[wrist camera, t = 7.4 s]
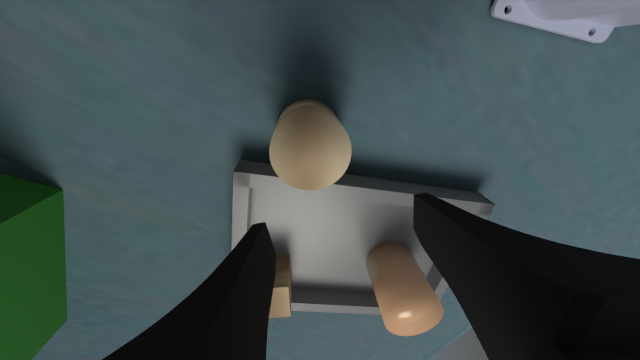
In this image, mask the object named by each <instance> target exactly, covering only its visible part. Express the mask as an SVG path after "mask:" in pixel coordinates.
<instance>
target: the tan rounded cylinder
mask: <svg viewBox="0 0 640 360" xmlns="http://www.w3.org/2000/svg"><path fill="white" fill-rule="evenodd" d="M366 267H367V270H368V274H369V277H370V280H371V283H372V286H373V289H374V293H375V296H376V299H377V302H378V305H379V308H380V312H381V315H382V318H383V321H384V324H385V327H386V328H387V330H388V331H390V332H391V333H393V334H396V335H400V336H413V335H418V334H421V333H424V332H426V331H428V330H430V329H432V328H433V327H434V326H436V325H437V324H438V323H439V322H440V320H441V319H442V317H443V313H444V309H443V306H442V304H441V302H440V301H439V299H438V297H437V296H436V294H435V292H434V290H433V289H432V287H431V285H430V284H429V282H428V280H427V278H426V277H425V275H424V273H423V272H422V270H421V268H420V266H419V265H418V263H417V261H416V259H415V258H414V256H413V254H412V253H411V251H410V249H409V248H408V247H407V246H406V245H404V244H402V243H399V242H386V243H383V244H380V245H378V246H377V247H375V248H374V249H372V250H371V251H370V253H369V254H368V256H367V258H366Z"/></svg>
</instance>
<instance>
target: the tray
mask: <svg viewBox="0 0 640 360" xmlns="http://www.w3.org/2000/svg"><path fill="white" fill-rule="evenodd" d="M421 193H429V194H431V195H433V196H436V197H438V198H440V199H442V200H444V201H446V202H448V203H450V204H452V205H454V206H457V207H459V208H461V209H463V210H465V211H467V212H470V213H472V214H474V215H476V216H479V217H481V218H484V219H486V220H487V218H488V216H489V215H490V213H491V211H492V209H493V208H494V206H495V204H494V203H492V202H491V201H490V200H488V199H487V198H485V197H484V196H483V195H481V194H480V193H479V192H477V191H470V190H462V189H455V188H447V187H440V186H433V185H425V184H418V183H410V182H403V181H395V180H388V179H380V178H373V177H366V176H358V175H351V174H343V175H342V177H341V178H340V179H339V180H337V181H336V182H335V183H333V184H332V185H330V186H328V187H325V188H322V189H318V190H302V189H298V188H295V187H292V186H290V185H288V184H287V183H285V182H284V181H283V180H282V179H281V178H280V177H279V176H278V175H277V174H276V172H275V171H274V169H273V167H272V165H271V164H269V163H261V162H254V161H247V160H240V162H239V163H238V165H237V167H236V168H235V170H234V173H233V210H232V247H231V251H232V250H233V249H234V247H235V246H236V245H237V244H238V242H239V241H240V240H241V239H242V237H243V236H244V235H245V234H246V232H247V231H248V230H249V228H250V227H251V226H252V225H253V224H257V223H262V222H266V225H267V228H268V231H269V234H270V237H271V240H272V243H273V246H274V249H275V252H276V255H279V254H290V262H291V277H292V292H291V311H312V312H334V313H356V314H377V315H381V312H380V308H379V305H378V302H377V299H376V296H375V293H374V289H373V286H372V283H371V280H370V277H369V274H368V270H367V267H366V258H367V256H368V254H369V253H370V251H371V250H372V249H374V248H375V247H377V246H378V245H380V244H383V243H386V242H399V243H402V244H404V245H406V246H407V247H408V248H409V249H410V251H411V253H412V254H413V256H414V258H415V259H416V261H417V263H418V265H419V266H420V268H421V270H422V272H423V273H424V275H425V277H426V278H427V280H428V282H429V284H430V285H431V287H432V289H433V290H434V292H435V294H436V296H437V297H438V299H439V301H440V299H441V298H442V296H443V294H444V292H445V291H446V289H447V287H448V286H449V285H448V284H447V282H446V281H445V279H444V278H443V277H442V275H441V274H440V272H439V271H438V269H437V268H436V266H435V265H434V264H433V262H432V261H431V259H430V258H429V256H428V255H427V253H426V252H425V250H424V249H423V247H422V245H421V244H420V242H419V240H418V238H417V236H416V234H415V232H414V229H413V202H414V195H415V194H421Z"/></svg>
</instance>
